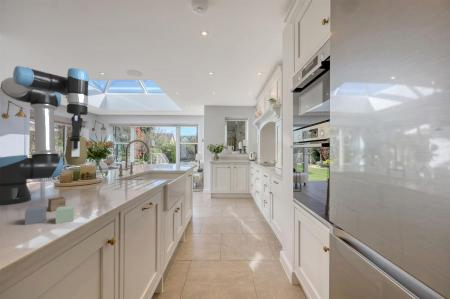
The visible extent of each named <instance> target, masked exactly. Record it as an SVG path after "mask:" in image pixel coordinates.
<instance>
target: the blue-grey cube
mask: <svg viewBox="0 0 450 299" xmlns="http://www.w3.org/2000/svg"><path fill="white" fill-rule="evenodd" d="M46 220H47V206H46V205H43V206H33V207H28V208H27V209H26V210H25V211H24V226H27V225H35V224H37V225H38V224H44V222H45V221H46Z"/></svg>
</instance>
